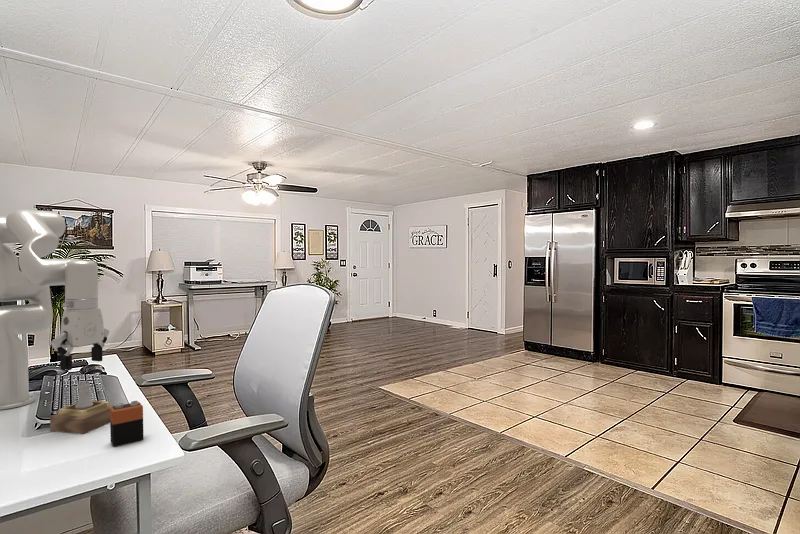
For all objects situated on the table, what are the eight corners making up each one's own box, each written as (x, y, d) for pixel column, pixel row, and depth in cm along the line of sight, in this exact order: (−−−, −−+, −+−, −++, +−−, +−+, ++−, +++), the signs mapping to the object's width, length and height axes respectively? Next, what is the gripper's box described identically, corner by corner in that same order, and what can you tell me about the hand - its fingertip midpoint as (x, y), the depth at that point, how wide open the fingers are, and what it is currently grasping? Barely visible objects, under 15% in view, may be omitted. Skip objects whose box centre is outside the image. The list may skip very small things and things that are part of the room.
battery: (110, 442, 117) (109, 403, 116) (140, 435, 121) (139, 397, 121) (113, 447, 113) (112, 407, 113) (143, 440, 118) (143, 401, 118)
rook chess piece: (90, 406, 132) (89, 379, 131) (96, 410, 129) (95, 382, 129) (72, 411, 128) (71, 383, 128) (78, 414, 125) (77, 385, 125)
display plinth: (50, 430, 124) (49, 410, 124) (85, 416, 135) (85, 398, 135) (83, 434, 122) (83, 413, 122) (117, 419, 133) (117, 400, 132)
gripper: (64, 309, 118) (64, 374, 119) (118, 301, 135) (118, 358, 136) (40, 307, 120) (41, 372, 120) (97, 300, 137) (97, 357, 137)
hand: (82, 365), depth 128 cm, fingers open, 9 cm apart
